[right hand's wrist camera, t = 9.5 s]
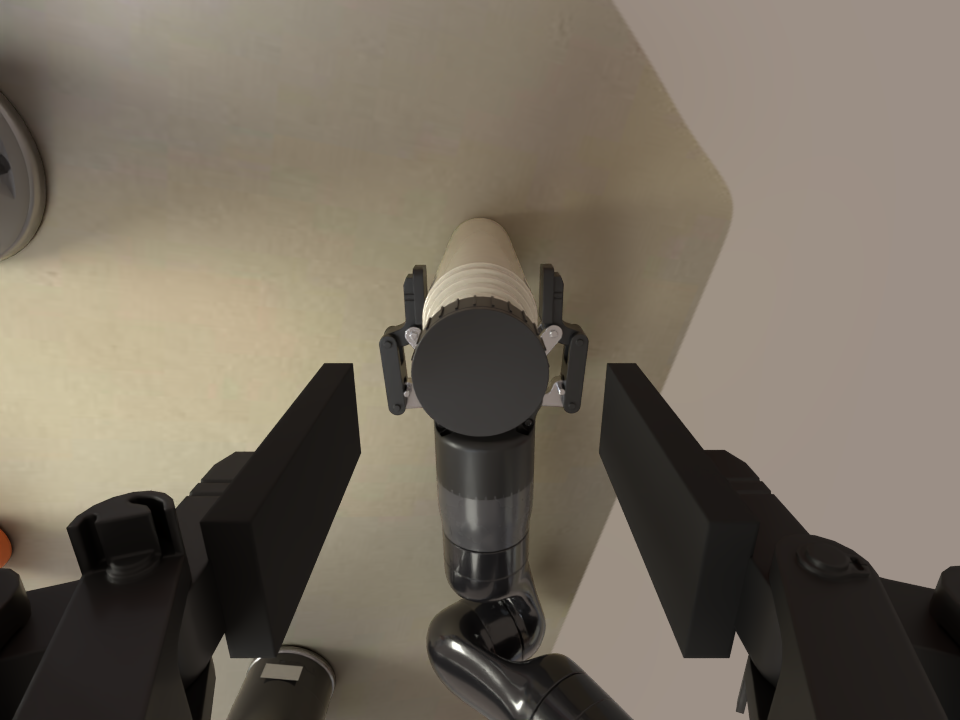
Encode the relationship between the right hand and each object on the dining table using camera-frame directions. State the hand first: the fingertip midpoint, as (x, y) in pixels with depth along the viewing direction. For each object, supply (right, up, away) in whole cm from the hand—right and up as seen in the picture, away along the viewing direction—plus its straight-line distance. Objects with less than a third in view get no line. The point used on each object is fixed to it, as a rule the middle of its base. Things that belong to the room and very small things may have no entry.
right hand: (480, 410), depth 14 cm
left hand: (0, +8, +21) cm, 22 cm away
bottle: (0, +10, +27) cm, 28 cm away
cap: (0, +1, +3) cm, 3 cm away
